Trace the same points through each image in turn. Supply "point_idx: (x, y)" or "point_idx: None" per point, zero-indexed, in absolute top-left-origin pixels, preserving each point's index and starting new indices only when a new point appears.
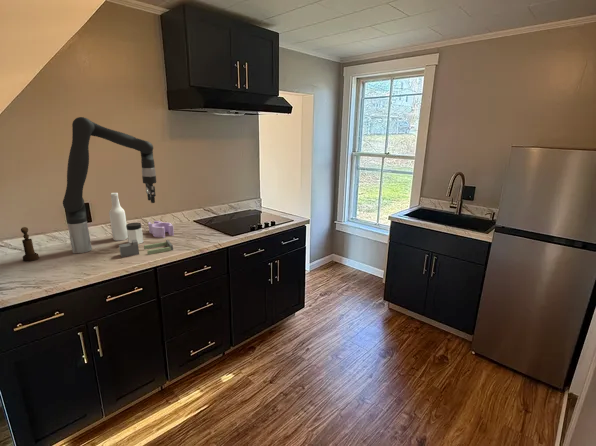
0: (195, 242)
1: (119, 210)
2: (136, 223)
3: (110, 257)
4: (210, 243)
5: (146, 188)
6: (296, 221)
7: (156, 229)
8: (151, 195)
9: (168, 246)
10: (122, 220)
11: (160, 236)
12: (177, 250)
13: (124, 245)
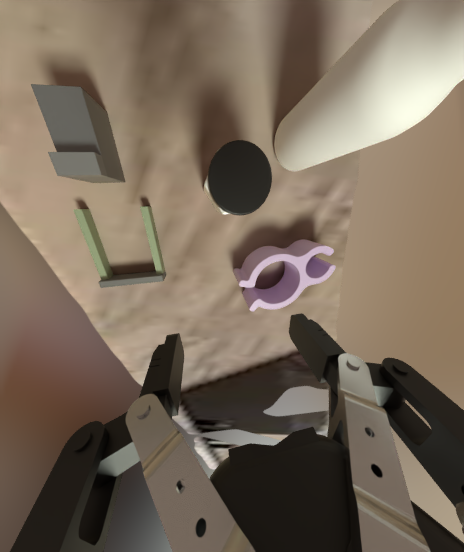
0: (157, 332)
1: (385, 77)
2: (248, 196)
3: (80, 63)
4: (136, 358)
5: (358, 519)
6: (214, 468)
7: (255, 262)
8: (64, 452)
9: (137, 273)
10: (320, 127)
11: (243, 263)
12: (101, 290)
13: (64, 114)
